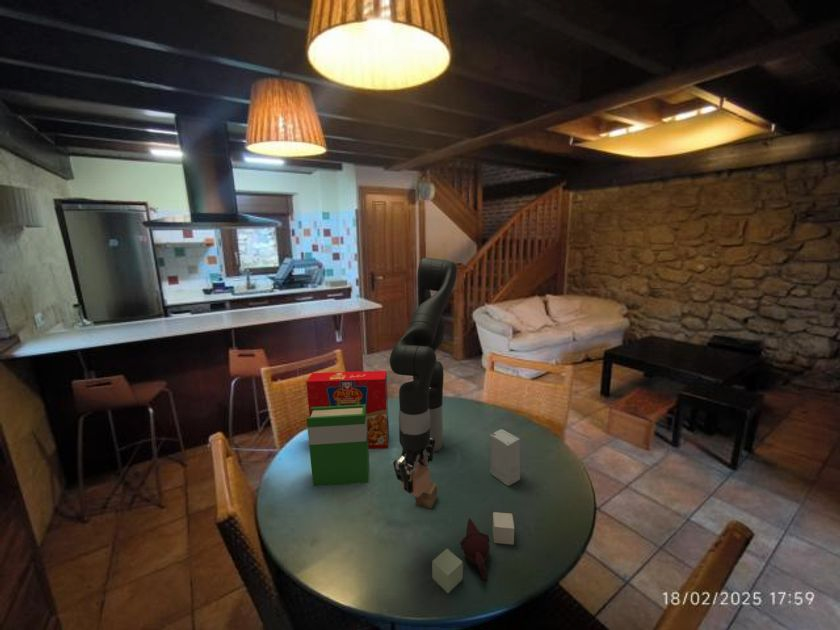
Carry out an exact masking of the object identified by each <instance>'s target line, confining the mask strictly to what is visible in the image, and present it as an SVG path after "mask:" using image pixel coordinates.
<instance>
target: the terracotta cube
mask: <svg viewBox="0 0 840 630" xmlns="http://www.w3.org/2000/svg"><path fill="white" fill-rule="evenodd" d="M408 465H409V464H408ZM409 466H411V465H409ZM411 467H412V466H411ZM430 470H431V469H430V468H428V467H425V466H423V465H421V464H418V463H417V468H416V471H415V472H414V474H413V479H412V480H413V492H412V493H411V494H410V495H412V496H414V497H415V496H416V497H419V496H420V495H421V494H422V493H423V492H424V491H425V490H426V489H427V488H428V487H430V482H431V478H430V477H431V476H430V475H431V471H430ZM407 474H408V475H409V471H408V470H407ZM401 487H402V488H401V489H402V490H404V483H403V482H402V481H401ZM404 491H405V490H404Z"/></svg>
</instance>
